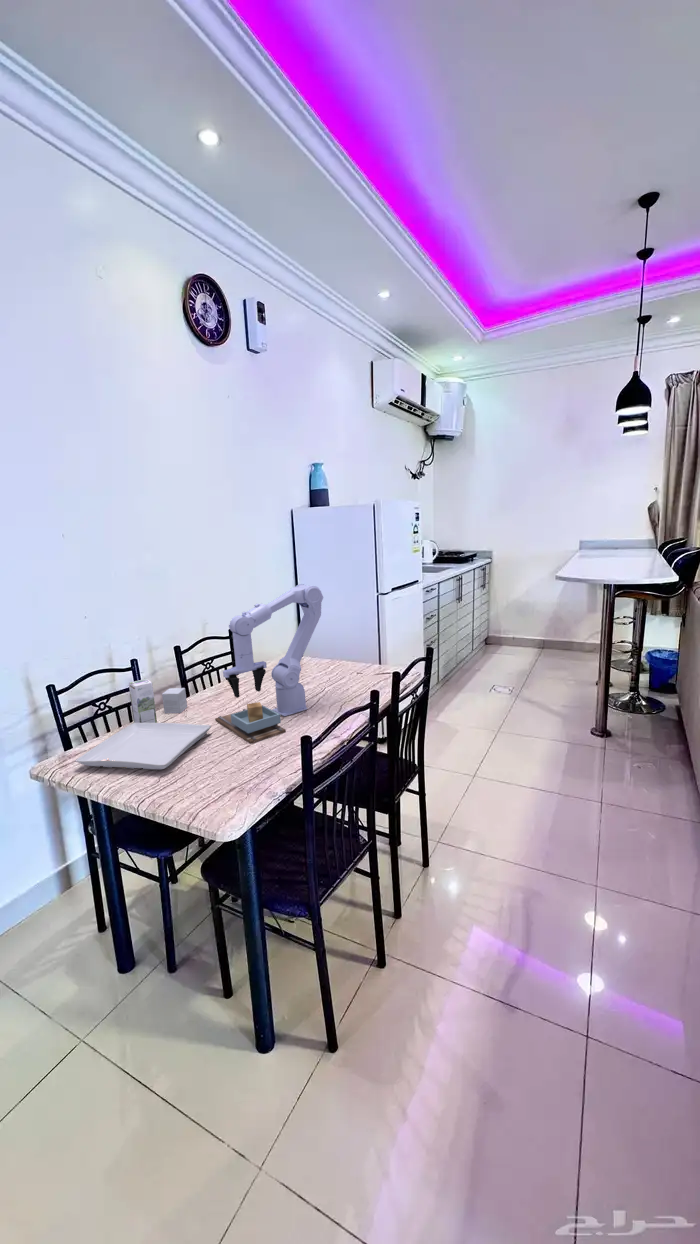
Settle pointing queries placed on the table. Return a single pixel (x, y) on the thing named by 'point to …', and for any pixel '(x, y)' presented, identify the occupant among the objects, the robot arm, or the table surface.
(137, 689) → the syrup box
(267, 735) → the rail board
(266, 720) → the blue storage tray
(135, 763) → the square plate
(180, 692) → the product box
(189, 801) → the table surface
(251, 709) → the part block
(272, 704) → the table surface
